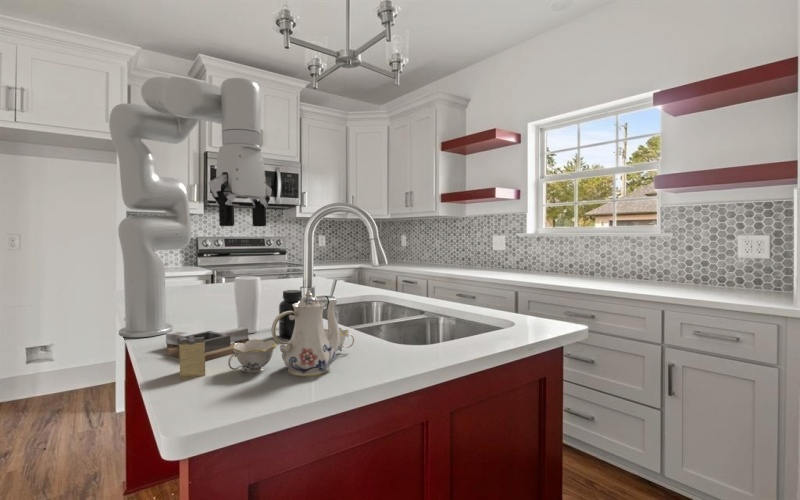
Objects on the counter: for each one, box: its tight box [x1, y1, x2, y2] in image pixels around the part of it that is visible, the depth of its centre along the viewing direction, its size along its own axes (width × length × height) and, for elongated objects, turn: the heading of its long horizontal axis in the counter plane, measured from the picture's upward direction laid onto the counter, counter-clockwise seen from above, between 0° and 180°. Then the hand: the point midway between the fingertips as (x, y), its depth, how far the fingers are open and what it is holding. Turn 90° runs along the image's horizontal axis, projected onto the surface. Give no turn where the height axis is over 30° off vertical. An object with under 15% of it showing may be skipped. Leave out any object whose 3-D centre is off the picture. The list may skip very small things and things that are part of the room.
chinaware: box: [227, 290, 355, 377], centre depth 91 cm, size 28×17×17 cm, turn 136°
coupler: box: [179, 336, 206, 380], centre depth 86 cm, size 4×4×7 cm
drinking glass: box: [233, 275, 262, 335], centre depth 119 cm, size 7×7×15 cm
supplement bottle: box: [278, 289, 303, 340], centre depth 115 cm, size 7×7×12 cm
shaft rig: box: [165, 327, 250, 362], centre depth 104 cm, size 17×16×4 cm
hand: (243, 226), depth 90 cm, fingers open, 9 cm apart
